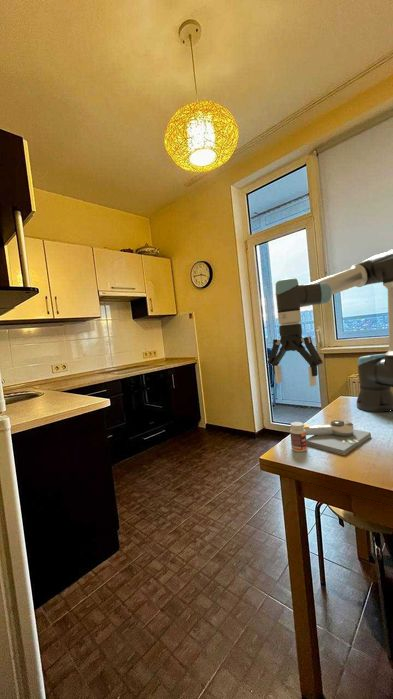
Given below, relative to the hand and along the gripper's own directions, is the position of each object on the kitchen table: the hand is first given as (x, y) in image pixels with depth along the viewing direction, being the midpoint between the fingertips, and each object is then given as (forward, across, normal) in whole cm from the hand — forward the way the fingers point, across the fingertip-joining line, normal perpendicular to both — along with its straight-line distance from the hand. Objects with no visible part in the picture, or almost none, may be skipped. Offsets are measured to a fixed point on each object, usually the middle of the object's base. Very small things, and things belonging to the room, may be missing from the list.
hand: (295, 384), depth 102 cm
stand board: (+19, +12, +4) cm, 23 cm away
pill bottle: (+19, +5, -9) cm, 22 cm away
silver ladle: (+17, +8, +4) cm, 20 cm away
